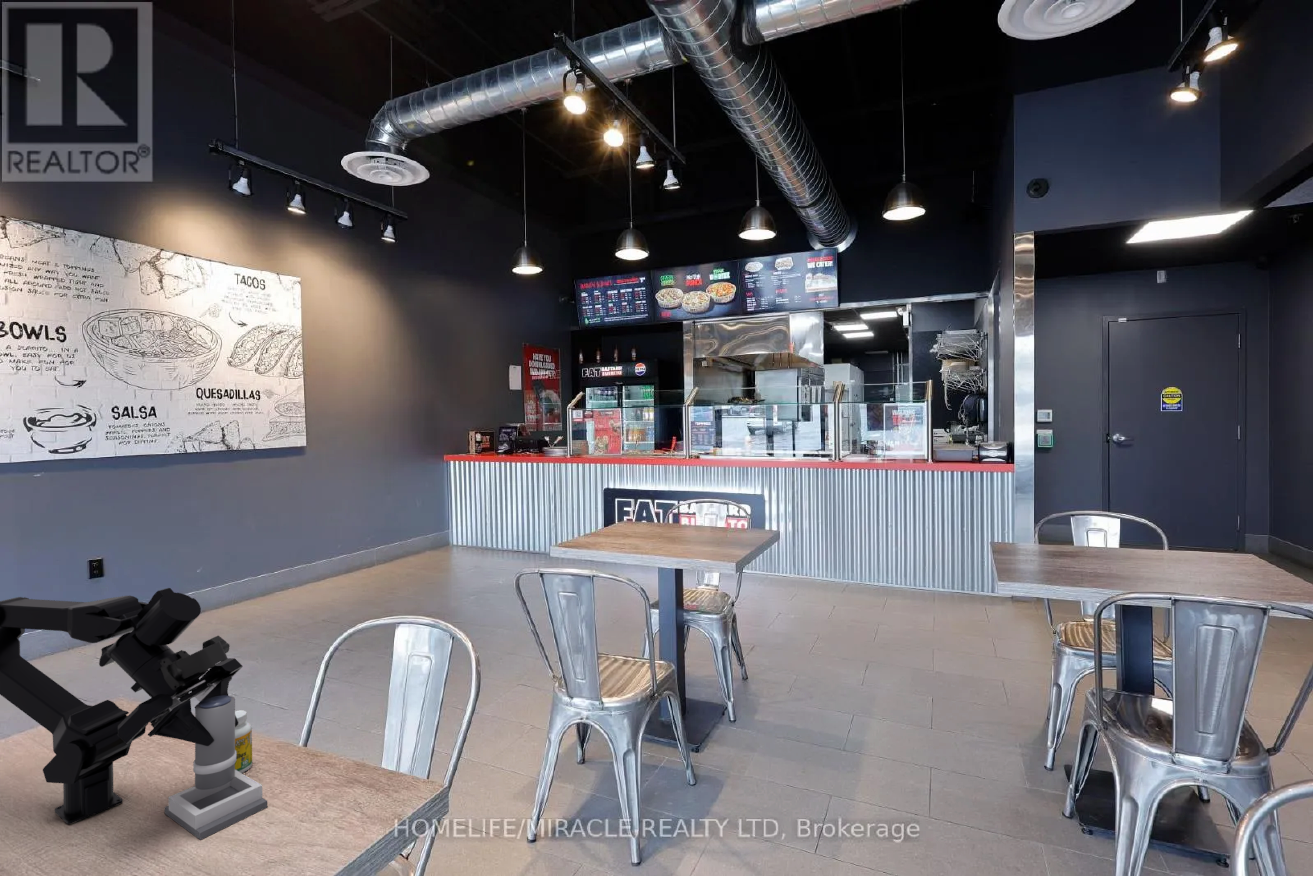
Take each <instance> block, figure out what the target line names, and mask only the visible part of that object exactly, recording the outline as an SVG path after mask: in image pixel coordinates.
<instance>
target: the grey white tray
mask: <svg viewBox="0 0 1313 876" xmlns="http://www.w3.org/2000/svg"><path fill="white" fill-rule="evenodd" d="M266 808H268V800H267V799H265V798H263V785H262V784H261V783H260V782H258V781H256V780H254V779H253V778H251V777H248V776H247V775H245V774H243V773H240V772H238V771H237V770H235V777H234V778H233V779H232V780H231V781H230V782H228V783H227V784H225V785H222V786H220V787H217V788H213V789H207V790H200V789H197V788H196V787H195V785H194V786H191V787H189V788H186V789H184V790H182V791H180V792H177V793H175V794H172V795H170V796H168V805H166V806H164V815H166V817H169V818H170V819H172V820H173V821H174V822H175V823H176V824H178V825H179V826H180V827H182V828H183V829H184V830H186V831H188V832H189V833H190V834H192V836H194V837H195V838H197V839H199V840H201V841H202V840H203V839H205V838H209V836H212V835H213V834H215V833H218V832H220V831H222V830H223V829H226V828H228V827H230V826H232V825H234V824H237V823H238V822H240V821H242V820H244V819H247V818H248V817H250V816H252V815H254V814H257V813H259V812H260V811H262V810H265V809H266Z"/></svg>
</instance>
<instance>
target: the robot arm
mask: <svg viewBox="0 0 1313 876" xmlns="http://www.w3.org/2000/svg"><path fill="white" fill-rule="evenodd" d="M201 611H202V607H201V605H200V603H199V602H198V600H196V598H194V597H191V596H189V595H187V594H185V593H181V592H175V591H174V590H172V589H171V587H167V588H163V589H160V590H157V591H156V592H155V593H154V594H153V595H152V597H151V599H150V600H149V601H148V602H143V601H139V598H137V597H135V596H133V595H122V596H115V597H109V598H104V599H103V598H102V599H97V600H94V601H93V600H92V601H85V602H84V601H68V600H51V599H33V598H29V597H26V596H24V597H23V596H18V597H13V598H8V599H3V600H0V696H1V697H3V698H4V699H5V700H7V701H8V702H9V703H11V704H12V705H13V706H15V707H17V708H18V709H19V710H20V711H21V712H23V713H24V714H25V715H26V716H28V717H30V719H32V720H33V721H35V722H36V723H37V724H39V725H40V726H41V727H42V728H45V729H46V730H47V732H49V733H51V734H52V751H53V753H54V754H55V756H53V757H52V758H51V759H50V761H49V762H48V763H46V765H45V766H44V767H43V768H42V773H43V776H44V779H45V782H46V783H53V784H63V785H62V786H63V790H62V791H63V804H62V805H59V806H57V807H55V808H54V813H55V814H56V815H57V816H58V817H59V818H60V819H61V820H62V821H63V822H65V824H67V825H71V824H74V823H77V822H79V821H81V820H83V819H84V820H85V819H86V818H89V817H91V816H94V815H96V814H99V813H101V812H104V811H106V810H108V809H111V808H113V807H115V806H119V805H121V804H122V803H123V801H124V799H123V798H122V797H121V796H120V795H118V794H117V793H115V792H114V762H115V761H117V760H119V759H122V758H123V757H126V756H127V755H128V754H129V752H130V748H131V746H132V743H133V741H136V740H138V739H139V738H140V737H142V736H144V734H145V733H146V727H147V726H148V725H149V723H150V726H151V727H152V728H153V729H151V730H150V732H148V734H147V736H148V737H153V736H160V737H164V738H170V739H171V738H172V739H175V740H176V739H177V740H180V741H184V742H188V743H193V744H195V743H196V744H200V745H204V746H209V745H211V744H212V743H213V742H214V739H213V737H212V736H211V735H210V733H209V732H208V731H207V730H206V728H205V727H204V726H203V725H202V724H201V723H200V722H199V721H198V719H197V718H196V717H195V714H193V712H192V703H191V699H193V698H195V699H196V700H197V701H198V703H200V702H202V701H203V700H206V699H208V698H211V697H215V696H224V695H225V696H229V692H228V691H229V684H230V682H231V681H232V680H233V677H234V676H235V675H236V674H237V673H238V672H239V671H240V670H241V669H242V668H243V665H242V664H241V663H240V661H239V660H237V659H236V658H235V657H234V658H229V657H228V655H227V653H229V651H230V646H231V645H230V643H228V642H227V641H226V640H225V639H223V638H222V637H221V636H220V635H217V636H214V637H211V638H210V639H208V640H205V641H204V642H202V649H200V650H198V651H195V652H193V653H192V654H190V653H188V651H186V650H183V649H181V650H178V651H177V652H174V651H173V650H172V648H170V646H169V645H171V644H173V643H174V642H175V641H177V640H178V638H179V637H181V635H182V634H183V633H184V632H185V631H186V630H187V629H188V628H189V627H190V625H191V624H193V623H194V622H195V620H196V619H197V618H198V617H199V616H200V615H201ZM26 630H37V631H39V630H40V631H52V632H54V631H56V632H63V633H64V632H65V633H67V634H68V635H69V636H70V638H71V639H72V640H73V639H74V640H77V641H81V642H85V643H88V644H96V643H101V642H103V641H106V640H110V639H112V638H115V637H118V639H117V640H116V641H115V642H114V643H110V644H108V645H106V646H103V647H102V648H101V649H100V650H101V656H100V658H99V662H98V664H99V667H101V668H103V667H105V666H107V665H110V664H112V663H114V662H115V664H117V665H118V666H119V667H120V668H121V669H122V670H123V671H124V672H125V673H126V674H127V675H128V676H129V678H131V679H132V680H133V681H134V682H135V683H133V685H132V686H131V687H130V689H131V691H133V692H134V693H137V692H139V691H141V690H143V691H144V692H145V693H146V694H147V695H148V696H149V697H150V698H148V699H147V700H145V701H143V702H141V703H138V705H137V706H136V707H135V708H134V709H133V710H132V711H131V712H130V713H129V711H126V710H124V709H122V708H120V707H119V706H118V705H117V704H116V703H115V702H114V701H112V700H110V699H106V700H103V701H100V702H99V703H97V704H93V705H88V704H86V703H84V702H83V701H82V700H81V699H80V698H78V697H77V696H75V695H74V694H73V693H71V692H70V691H69V690H67V689H66V688H64V687H63V686H62V685H60V684H59V683H57V682H56V681H55V680H53V679H52V678H50V677H49V676H48V675H47V674H45V673H44V672H43V671H41V670H40V669H39V668H37V667H36V666H35V665H33V664H32V663H31V662H29V661H28V660H26V659H25V658H24V657H22V656H21V640H20V638H21V637H22V636H23V634H25V632H26ZM119 636H120V637H119ZM194 709H195V706H194ZM237 725H238V720H237V718H236V715H235V727H236V726H237Z"/></svg>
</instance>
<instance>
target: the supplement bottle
mask: <svg viewBox="0 0 1313 876" xmlns="http://www.w3.org/2000/svg"><path fill="white" fill-rule="evenodd" d="M247 713H248V712H247V711H246V710H243V709H242V710H241V709H240V710H235V715H236V718H237V720H238V725H237V726H236V727H235V750H236V762H235V770H237V771H238V772H240V773H242V774H243V773H245V772H246V771H248V770H250V769H251V767H252V766H253V738H252V737H253V730H252V729H253V728H252V725H251V723H250V722H248V721H247V719H248V717H247Z"/></svg>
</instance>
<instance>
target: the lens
mask: <svg viewBox="0 0 1313 876" xmlns="http://www.w3.org/2000/svg"><path fill="white" fill-rule="evenodd" d="M194 707H195V708H194V709H195V710H194V716H195V717H196V718H197V719H198V721H199V722H200V723H201V724H202V725H203V726H204V727H205V728H206V730H207V731H208V732H209V733H210V735H211V736H212V737H213V739H214V742H213V743H212V744H211V745H209V746H204V745H200V744H196V743H194V760H193V764H192V765H193V766H192V767H193V773H194V786H195V787H196V788H197V789H200V790H207V789H213V788H217V787H220V786H222V785H225V784H227V783H228V782H230V781H231V780H232V779H233V778H234V777H235V762H236V750H235V711H236V698H235V697H234V696H231V695H228V696H225V695H224V696H215V697H211V698H208V699H206V700H203V701H202V702H200V703H199V702H198V703H197V704H196V705H195V706H194Z"/></svg>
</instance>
